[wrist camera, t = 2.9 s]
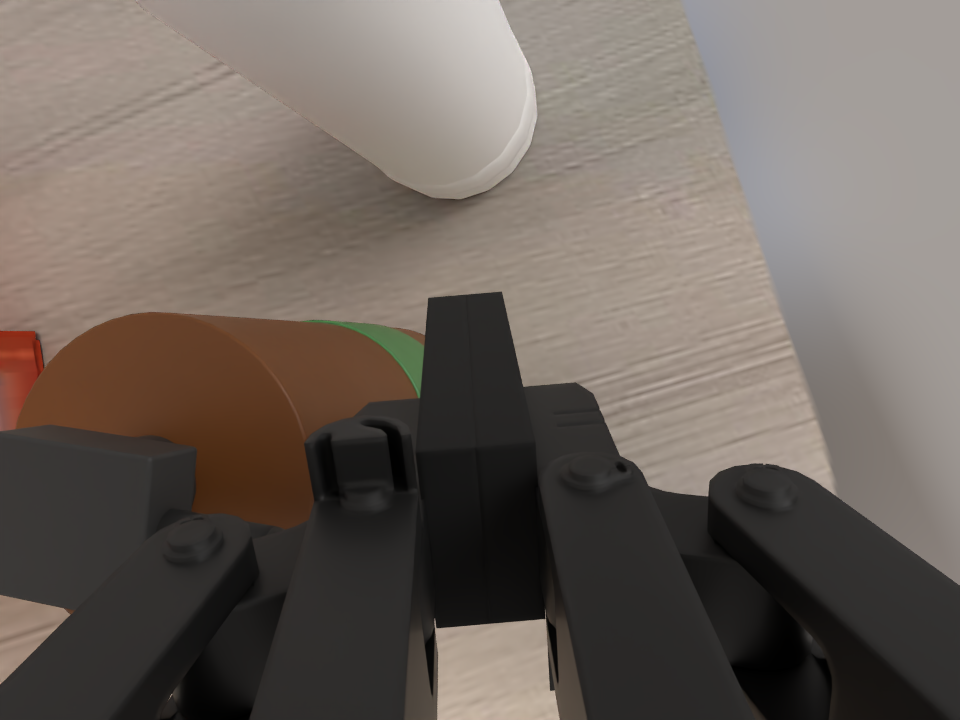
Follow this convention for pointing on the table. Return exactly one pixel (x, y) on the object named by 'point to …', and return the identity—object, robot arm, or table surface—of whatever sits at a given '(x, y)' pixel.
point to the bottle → (384, 78)
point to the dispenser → (177, 435)
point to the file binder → (17, 373)
